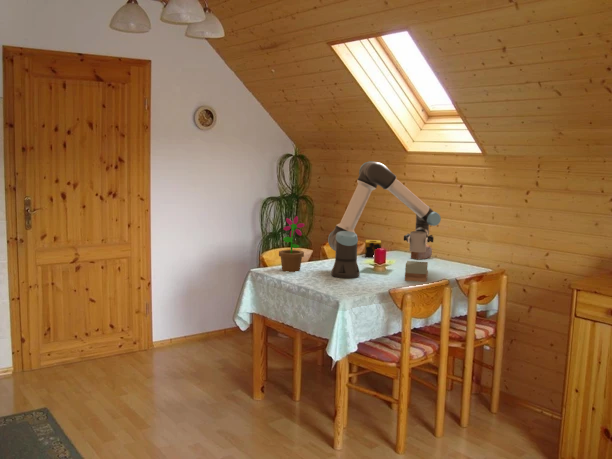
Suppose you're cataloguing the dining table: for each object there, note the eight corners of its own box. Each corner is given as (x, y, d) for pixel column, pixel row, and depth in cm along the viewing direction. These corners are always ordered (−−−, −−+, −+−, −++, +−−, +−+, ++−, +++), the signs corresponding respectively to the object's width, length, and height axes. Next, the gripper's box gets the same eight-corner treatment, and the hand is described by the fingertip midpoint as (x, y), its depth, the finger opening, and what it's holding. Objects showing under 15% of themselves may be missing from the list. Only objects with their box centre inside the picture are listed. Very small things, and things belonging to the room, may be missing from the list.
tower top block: (426, 274, 332) (426, 265, 331) (405, 272, 334) (405, 264, 334) (427, 270, 343) (427, 262, 342) (406, 268, 345) (407, 260, 344)
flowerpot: (306, 268, 360) (308, 216, 355) (300, 273, 346) (301, 218, 342) (282, 266, 363) (283, 214, 359) (274, 271, 349) (275, 217, 345)
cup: (413, 252, 332) (414, 233, 331) (406, 249, 340) (407, 231, 339) (428, 252, 334) (429, 233, 333) (421, 249, 342) (422, 231, 341)
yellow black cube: (380, 255, 407) (381, 240, 406) (381, 258, 397) (381, 242, 396) (364, 254, 408) (365, 239, 407) (364, 257, 398) (365, 242, 397)
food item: (422, 256, 409) (423, 241, 407) (432, 258, 403) (433, 242, 402) (409, 258, 399) (410, 243, 398) (419, 260, 394) (420, 244, 392)
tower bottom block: (425, 282, 332) (426, 274, 332) (404, 281, 335) (405, 272, 335) (427, 278, 343) (427, 270, 342) (406, 277, 346) (407, 268, 345)
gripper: (439, 242, 352) (437, 249, 330) (401, 240, 357) (396, 246, 335) (440, 229, 350) (438, 235, 329) (401, 227, 356) (397, 232, 334)
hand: (417, 241), depth 332 cm, fingers closed on cup, 8 cm apart
